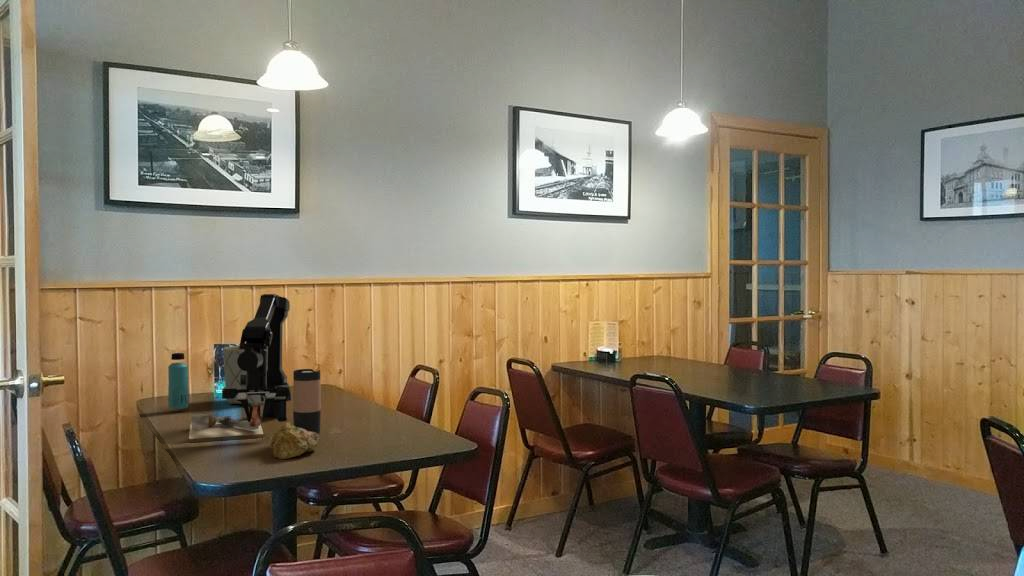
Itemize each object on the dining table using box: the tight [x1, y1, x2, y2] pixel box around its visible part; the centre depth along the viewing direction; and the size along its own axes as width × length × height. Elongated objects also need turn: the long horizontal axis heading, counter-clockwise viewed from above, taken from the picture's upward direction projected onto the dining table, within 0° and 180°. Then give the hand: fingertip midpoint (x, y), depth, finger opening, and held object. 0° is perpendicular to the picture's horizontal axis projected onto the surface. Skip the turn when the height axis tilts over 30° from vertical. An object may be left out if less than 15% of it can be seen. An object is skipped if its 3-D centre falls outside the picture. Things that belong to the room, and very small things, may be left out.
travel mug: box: [292, 368, 322, 441], centre depth 224 cm, size 8×8×20 cm
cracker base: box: [188, 413, 264, 444], centre depth 233 cm, size 20×22×5 cm
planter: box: [222, 345, 268, 406], centre depth 285 cm, size 19×19×20 cm
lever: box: [215, 404, 261, 430], centre depth 234 cm, size 21×3×7 cm, turn 53°
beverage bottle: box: [167, 352, 190, 410], centre depth 266 cm, size 6×7×20 cm
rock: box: [269, 421, 321, 460], centre depth 206 cm, size 12×9×10 cm
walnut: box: [208, 414, 216, 427], centre depth 236 cm, size 4×4×4 cm
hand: (255, 421), depth 228 cm, fingers open, 3 cm apart
